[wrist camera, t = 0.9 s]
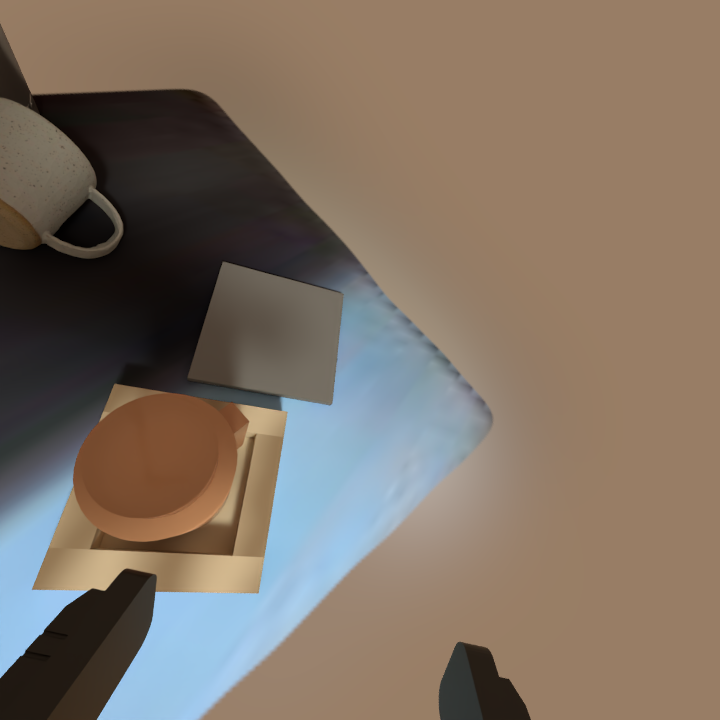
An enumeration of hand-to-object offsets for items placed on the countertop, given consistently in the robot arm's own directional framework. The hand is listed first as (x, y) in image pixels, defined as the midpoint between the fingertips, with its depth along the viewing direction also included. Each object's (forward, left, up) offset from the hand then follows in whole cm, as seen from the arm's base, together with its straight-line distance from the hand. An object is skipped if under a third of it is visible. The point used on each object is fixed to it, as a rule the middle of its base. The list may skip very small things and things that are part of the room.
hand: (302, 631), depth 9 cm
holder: (-5, +5, -18) cm, 20 cm away
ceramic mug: (-21, +24, -19) cm, 37 cm away
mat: (-1, +18, -18) cm, 26 cm away
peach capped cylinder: (-5, +5, -18) cm, 19 cm away
